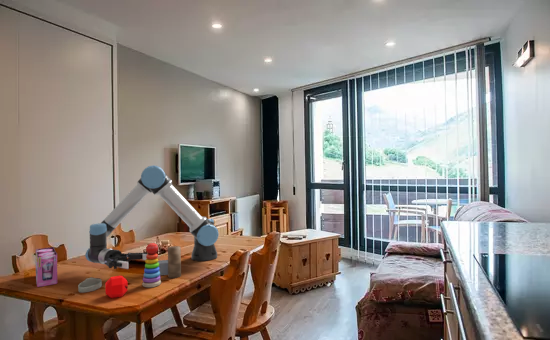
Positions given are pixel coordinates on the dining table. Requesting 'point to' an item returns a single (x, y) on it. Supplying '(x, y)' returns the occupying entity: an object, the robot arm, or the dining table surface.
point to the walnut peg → (174, 262)
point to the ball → (116, 286)
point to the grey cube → (163, 267)
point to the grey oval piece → (90, 285)
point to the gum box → (46, 266)
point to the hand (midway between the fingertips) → (140, 261)
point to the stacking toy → (151, 267)
